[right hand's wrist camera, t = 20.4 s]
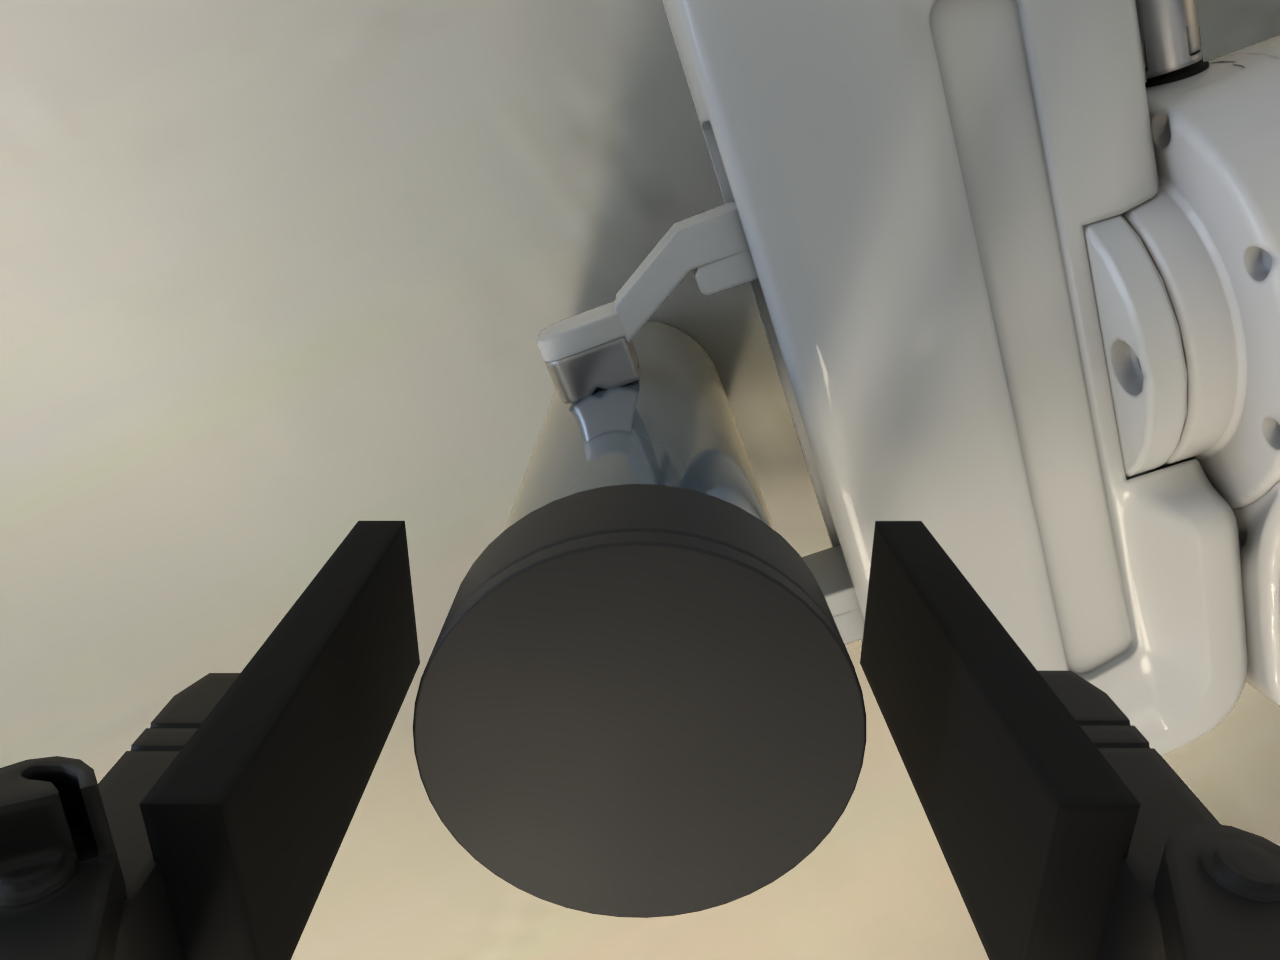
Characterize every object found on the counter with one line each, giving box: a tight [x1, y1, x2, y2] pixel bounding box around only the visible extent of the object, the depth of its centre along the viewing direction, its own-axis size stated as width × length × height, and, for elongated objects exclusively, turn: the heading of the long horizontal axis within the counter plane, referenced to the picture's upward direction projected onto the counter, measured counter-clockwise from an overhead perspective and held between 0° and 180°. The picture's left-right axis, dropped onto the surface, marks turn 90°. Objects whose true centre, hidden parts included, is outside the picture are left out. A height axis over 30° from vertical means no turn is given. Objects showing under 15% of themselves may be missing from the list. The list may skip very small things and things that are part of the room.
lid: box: [413, 484, 866, 918], centre depth 11 cm, size 6×6×2 cm
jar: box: [505, 321, 775, 531], centre depth 18 cm, size 5×5×15 cm
